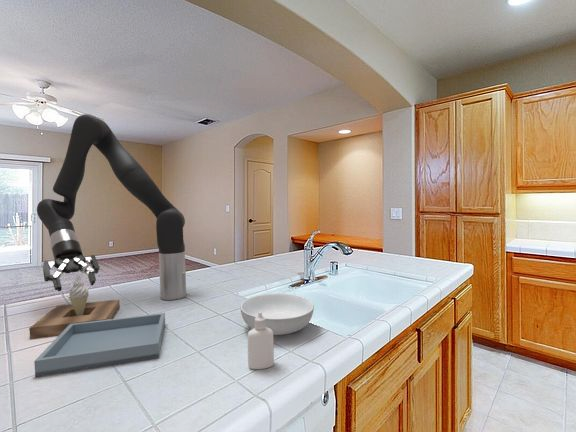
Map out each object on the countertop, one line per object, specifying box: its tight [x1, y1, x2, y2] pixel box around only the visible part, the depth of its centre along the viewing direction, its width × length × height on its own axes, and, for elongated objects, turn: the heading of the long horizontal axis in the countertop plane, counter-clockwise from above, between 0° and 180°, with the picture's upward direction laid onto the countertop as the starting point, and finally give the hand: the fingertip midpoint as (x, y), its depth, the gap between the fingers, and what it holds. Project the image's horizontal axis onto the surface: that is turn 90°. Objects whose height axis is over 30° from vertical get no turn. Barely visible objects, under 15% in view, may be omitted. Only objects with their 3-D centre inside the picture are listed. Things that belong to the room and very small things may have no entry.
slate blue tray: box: [33, 312, 166, 378], centre depth 77 cm, size 24×20×4 cm
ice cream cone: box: [68, 273, 90, 316], centre depth 93 cm, size 5×5×15 cm
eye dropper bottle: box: [247, 312, 275, 370], centre depth 67 cm, size 4×6×12 cm
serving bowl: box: [240, 293, 315, 336], centre depth 87 cm, size 21×21×7 cm
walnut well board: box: [29, 299, 121, 340], centre depth 93 cm, size 18×18×3 cm
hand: (76, 286), depth 93 cm, fingers open, 8 cm apart
